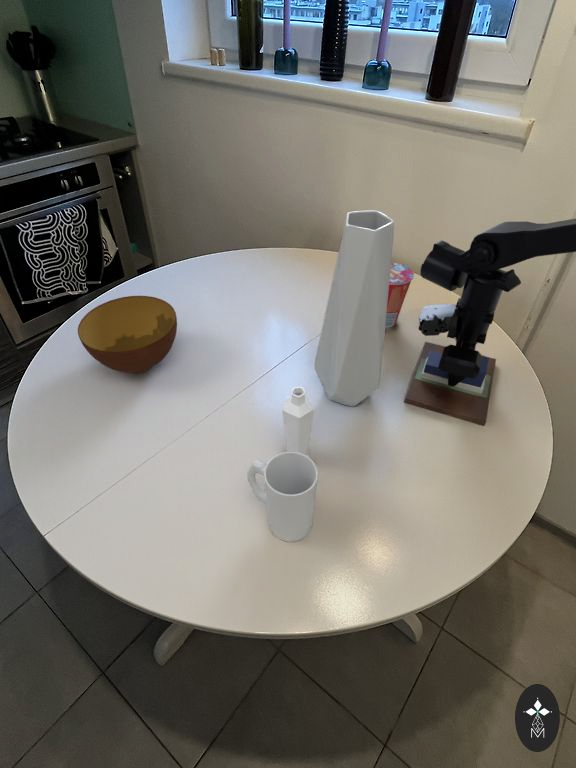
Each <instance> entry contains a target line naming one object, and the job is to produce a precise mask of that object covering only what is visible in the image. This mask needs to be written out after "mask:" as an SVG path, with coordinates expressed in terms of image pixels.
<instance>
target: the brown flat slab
mask: <svg viewBox="0 0 576 768" xmlns="http://www.w3.org/2000/svg"><path fill="white" fill-rule="evenodd" d="M444 347H446V346H445V345H441V344H437V343H433V342H430V341H429V342H428V341H424V343H423V346H422V348H421V351H420V354H419V357H418V361H417V362H416V366H415V369H414V372H413V374H412V377H411V380H410V383H409V386H408V389H407V392H406V394H405V397H404V401H403V403H404V404H407V405H411V406H414V407H417V408H421V409H425V410H428V411H431V412H435V413H438V414H441V415H445V416H448V417H452V418H455V419H459V420H462V421H466V422H469V423H473V424H475V425H480V426H484V427H485V425H486V423H487V420H488V419H487V418H488V413H489V405H490V400H491V393H492V388H493V381H494V375H495V369H496V362H497V358H493V357H489V356H485V355H483V356H484V357H488V358H489V362H488V368H487V373H486V377H485V383H484V389H483V391H482V394H480V393H476V392H472V391H469V390H465V389H461V388H457V387H453V386H449V385H446V384H443V383H439V382H435V381H432V380H428V379H424V378H421V375H422V372H423V369H424V366H425V363H426V360H427V358H428V356H429V353H430V351H434V352H438V353H443V349H444Z"/></svg>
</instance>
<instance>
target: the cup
mask: <svg viewBox="0 0 576 768" xmlns="http://www.w3.org/2000/svg"><path fill="white" fill-rule="evenodd" d="M414 277H415V273H414V271H413V270H412V269H411V268H409V267H408V266H407V265H404V264H401V263H397V262H396V263H395V262H391V269H390V280H389V291H388V302H387V312H386V323H385V329H387V328H392V327H395V325H396V324H397V321H398V318H399V316H400V314H401V313H400V312H401V310H402V307H403V305H404V301H405V298H406V296H407V293H408V290H409V288H410V285H411V283H412V281H413V280H414Z"/></svg>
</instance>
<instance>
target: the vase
mask: <svg viewBox="0 0 576 768" xmlns="http://www.w3.org/2000/svg"><path fill="white" fill-rule="evenodd" d="M394 234H395V221H394V220H393V219H392V218H391V217H389V216H388V215H386V214H384V213H383V212H381V211H379V210H375V209H374V210H370V209H369V210H357V211H356V210H355V211H349V212H347V213H346V216H345V220H344V225H343V230H342V234H341V239H340V243H339V247H338V251H337V256H336V262H335V266H334V271H333V275H332V280H331V284H330V289H329V294H328V298H327V303H326V308H325V312H324V316H323V317H324V318H323V321H322V325H321V331H320V336H319V339H318V344H317V350H316V354H315V357H314V363H313V366H314V371H315V373H316V376H317V377H318V379H319V382H320V383H321V386H322V388H323V390H324V392H325V394H326V396H327V398H328V399H329V400H330V401H334V402H336V403H339V404H342V405H345V406H348V407H356V406H357V405H359V404H360V403H361V402H362V401H364V400H365V399H367V398H368V397H369V396H371V394H373V393H374V392H376V391H377V390H378V389H379V388H380V385H381V374H382V365H383V353H384V343H385V335H386V334H385V332H386V328H385V323H386V312H387V302H388V291H389V280H390V269H391V263H392V257H393V247H394V246H393V245H394V236H395V235H394Z"/></svg>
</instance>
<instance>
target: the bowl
mask: <svg viewBox="0 0 576 768" xmlns="http://www.w3.org/2000/svg"><path fill="white" fill-rule="evenodd" d="M177 331H178V318H177V313H176V309H175V308H174V307H173V306H172V305H171V304H170V303H169V302H167V301H166V300H164V299H162V298H158V297H155V296H149V295H128V296H122V297H117V298H115V299H111V300H108V301H105V302H103V303H101V304H99V305H97V306H96V307H94V308H93V309H90V311H88V312H87V313H86V314H85V315H84V316H83V317H82V318H81V320H80V322H79V324H78V327H77V335H78V338H79V340H80V343H81V345H82V346H83V347H84V349H85V350H86V351H87V353H88V354H89V355H90V356H91V357H92V358H93V359H95V360H96V361H97V362H99V364H101V365H103V366H105V367H107V368H108V369H111V370H114V371H117V372H123V373H134V374H139V373H144V372H146V371H148V370H150V369H152V368H153V367H155V366H157V365H158V364H159V363H160V362H162V361H163V360H164V359H165V358H166V357H167V356H168V354H169V352H170V351H171V349H172V347H173V345H174V342H175V340H176V337H177Z"/></svg>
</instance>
